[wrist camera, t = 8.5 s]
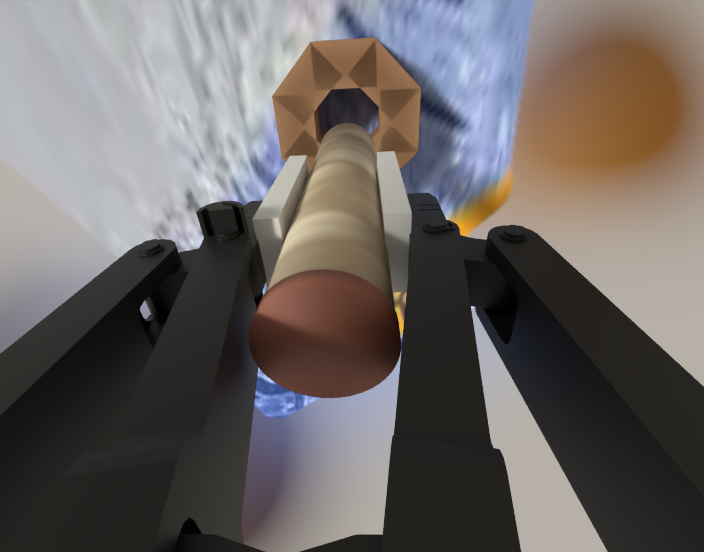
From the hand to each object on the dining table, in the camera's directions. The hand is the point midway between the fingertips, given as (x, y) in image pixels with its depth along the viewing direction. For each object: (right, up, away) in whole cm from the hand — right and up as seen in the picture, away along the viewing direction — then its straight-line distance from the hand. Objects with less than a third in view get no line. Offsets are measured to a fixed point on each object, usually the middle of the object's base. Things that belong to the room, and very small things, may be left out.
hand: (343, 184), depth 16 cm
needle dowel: (0, +3, +5) cm, 6 cm away
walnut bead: (0, +9, +13) cm, 15 cm away
